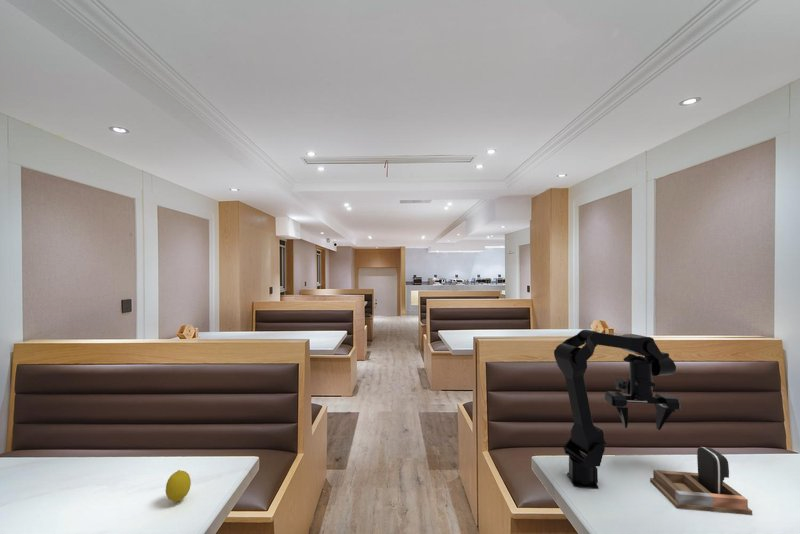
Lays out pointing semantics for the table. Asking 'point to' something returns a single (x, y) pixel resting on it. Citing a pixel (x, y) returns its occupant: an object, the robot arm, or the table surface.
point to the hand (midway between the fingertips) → (641, 428)
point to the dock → (697, 493)
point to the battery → (712, 469)
